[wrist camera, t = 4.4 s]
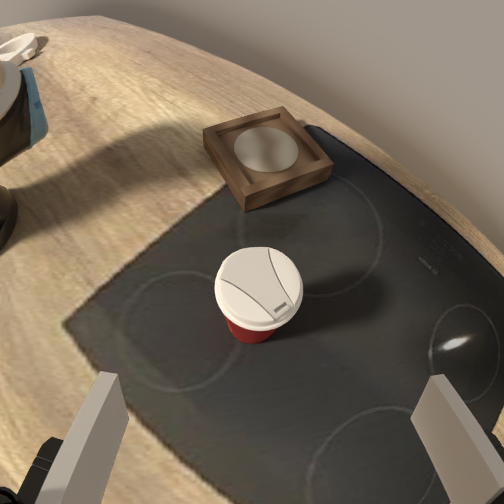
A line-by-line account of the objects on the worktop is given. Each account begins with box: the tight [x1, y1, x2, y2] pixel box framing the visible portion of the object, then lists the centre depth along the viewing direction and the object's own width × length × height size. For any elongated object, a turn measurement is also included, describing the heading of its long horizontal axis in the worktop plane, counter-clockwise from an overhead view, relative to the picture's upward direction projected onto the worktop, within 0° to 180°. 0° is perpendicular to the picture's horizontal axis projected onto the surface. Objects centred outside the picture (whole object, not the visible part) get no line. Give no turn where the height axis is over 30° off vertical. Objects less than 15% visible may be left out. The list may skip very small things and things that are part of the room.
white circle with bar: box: [0, 33, 38, 66], centre depth 70 cm, size 28×28×5 cm
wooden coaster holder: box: [203, 106, 334, 213], centre depth 49 cm, size 15×15×4 cm
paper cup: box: [215, 247, 303, 344], centre depth 33 cm, size 8×8×14 cm
